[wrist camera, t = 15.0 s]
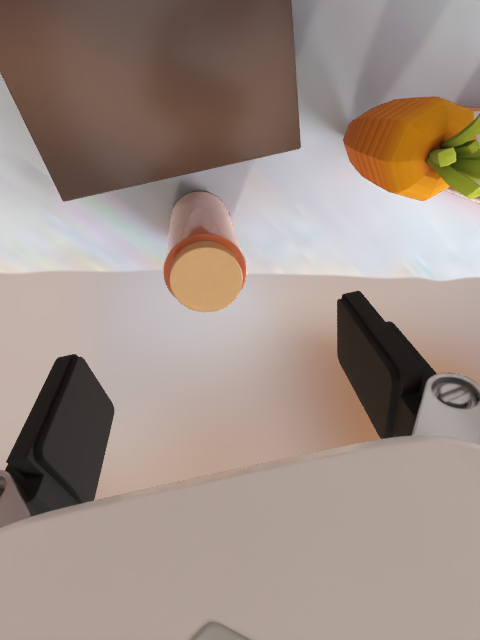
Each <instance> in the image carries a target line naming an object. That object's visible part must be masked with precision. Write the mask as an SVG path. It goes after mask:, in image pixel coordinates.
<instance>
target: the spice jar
mask: <svg viewBox="0 0 480 640" xmlns="http://www.w3.org/2000/svg"><path fill="white" fill-rule="evenodd" d="M246 276H247V266H246V261H245V258H244V255H243V252H242V249H241V247H240V244H239V241H238V238H237V235H236V232H235V230H234V227H233V224H232V221H231V218H230V215H229V212H228V210H227V208H226V206H225V204H224V203H223V202H222V201H221V200H220V199H219V198H218V197H216V196H215V195H213V194H211V193H208V192H202V191H196V192H191V193H188V194H186V195H184V196H183V197H181V198H180V199H179V200H178V201H177V202H176V204H175V205H174V207H173V210H172V213H171V219H170V226H169V233H168V240H167V248H166V255H165V262H164V279H165V283H166V285H167V287H168V289H169V291H170V292H171V293H172V295H173V296H174V297H175V298H176V299H177V300H178V301H179V302H180V303H181V304H183V305H184V306H186V307H187V308H189V309H192V310H195V311H199V312H213V311H217V310H220V309H223V308H225V307H226V306H228V305H229V304H230V303H232V302H233V301H234V300H235V299H236V298H237V296H238V294H239V293H240V291H241V289H242V288H243V286H244V284H245V281H246Z"/></svg>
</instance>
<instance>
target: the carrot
mask: <svg viewBox="0 0 480 640" xmlns="http://www.w3.org/2000/svg"><path fill="white" fill-rule="evenodd" d="M479 133H480V114H479V115H478V116H477V118H476V119H475V120H474V112H473V111H472V110H470V109H468V108H465V107H463V106H460V105H457V104H455V103H452V102H450V101H447V100H444V99H442V98H439V97H417V98H406V99H397V100H393V101H390V102H387V103H384V104H381V105H379V106H377V107H375V108H372V109H370V110H369V111H367V112H366V113H364V114H363V115H361V116H359V117H358V118H356V119H355V120H353V121H352V122H351V123H350V124H349V126H348V129H347V131H346V134H345V136H344V139H343V141H344V145H345V148H346V151H347V154H348V157H349V160H350V162H351V163H352V165H353V166H354V167H355V169H356V170H357V171H358V172H359V173H360V174H361V175H362V176H363V177H364V178H366V179H368V180H369V181H371V182H372V183H374V184H376V185H377V186H379V187H381V188H383V189H385V190H387V191H388V192H391V193H395V194H398V195H402V196H406V197H409V198H413V199H416V200H420V201H425V200H427V199H429V198H431V197H432V196H434V195H436V194H438V193H439V192H441V191H443V190H445V189H447V188H448V187H452V188H453V189H454V190H456V191H457V192H458V193H460V194H462V195H464V196H466V197H467V198H469V199H474V198H476V197H478V196H480V185H478V184H477V183H476V182H474V181H477V182H480V143H479V142H478V141H477V139H476V135H477V134H479Z"/></svg>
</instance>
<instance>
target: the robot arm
mask: <svg viewBox="0 0 480 640" xmlns="http://www.w3.org/2000/svg"><path fill="white" fill-rule="evenodd" d="M337 330H338V331H337V346H338V347H337V348H338V349H337V350H338V351H337V352H338V359H339V362H340V364H341V366H342V368H343V370H344V372H345V374H346V375H347V377H348V379H349V381H350V383H351V385H352V387H353V388H354V390H355V392H356V394H357V396H358V398H359V400H360V402H361V403H362V405H363V407H364V409H365V411H366V412H367V414H368V416H369V418H370V420H371V422H372V424H373V426H374V428H375V429H376V431H377V433H378V435H379V436H380V438H381V439H379V440H373V441H368V442H363V443H357V444H352V445H347V446H342V447H337V448H332V449H327V450H322V451H317V452H313V453H308V454H304V455H299V456H294V457H289V458H284V459H280V460H276V461H270V462H266V463H261V464H256V465H252V466H247V467H243V468H239V469H233V470H229V471H224V472H220V473H215V474H211V475H206V476H202V477H197V478H193V479H189V480H183V481H179V482H175V483H170V484H165V485H161V486H157V487H152V488H147V489H143V490H139V491H134V492H130V493H125V494H121V495H116V496H112V497H108V498H103V499H99V500H94V498H95V494H96V490H97V485H98V481H99V477H100V472H101V468H102V464H103V460H104V455H105V451H106V446H107V442H108V438H109V434H110V429H111V425H112V421H113V416H114V406H113V404H112V402H111V400H110V399H109V397H108V396H107V394H106V393H105V391H104V390H103V388H102V386H101V385H100V383H99V382H98V380H97V379H96V377H95V375H94V374H93V372H92V371H91V369H90V368H89V366H88V365H87V363H86V361H85V360H84V359H83V358H82V357H78V356H77V355H76V354H72V355H68V356H64V357H59V358H57V359H56V361H55V363H54V365H53V367H52V369H51V371H50V373H49V375H48V377H47V379H46V381H45V384H44V385H43V387H42V389H41V391H40V394H39V396H38V398H37V400H36V402H35V404H34V406H33V408H32V410H31V412H30V414H29V416H28V418H27V420H26V423H25V424H24V426H23V428H22V431H21V433H20V435H19V437H18V439H17V441H16V443H15V445H14V447H13V449H12V451H11V453H10V455H9V457H8V459H7V461H6V462H7V463H8V466H7V467H6V470H5V471H3V470H0V640H480V385H479V384H478V383H477V382H475V381H474V380H472V379H470V378H468V377H466V376H463V375H460V374H456V373H439V374H436V372H435V371H434V370H433V369H432V368H431V367H430V365H429V364H428V363H427V362H426V361H425V359H424V358H423V357H422V356H421V355H420V354H419V353H418V351H417V350H416V349H415V348H414V347H413V345H412V344H411V343H410V342H409V341H408V340H407V338H406V337H405V336H404V335H403V334H402V333H401V331H400V330H399V329H398V328H397V327H396V326H395V324H393V323H392V322H385V321H384V320H383V318H382V317H381V316H380V315H379V314H378V313H377V311H376V310H375V309H374V308H373V306H372V305H371V304H370V303H369V301H368V300H367V299H366V298H365V297H364V295H363V294H362V293H361V292H360V291H356V292H351V293H346V294H343V295H342V299H339V300H338V301H337Z"/></svg>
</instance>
